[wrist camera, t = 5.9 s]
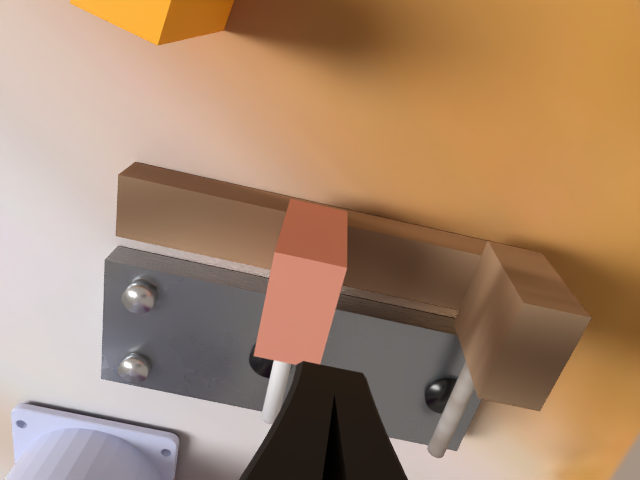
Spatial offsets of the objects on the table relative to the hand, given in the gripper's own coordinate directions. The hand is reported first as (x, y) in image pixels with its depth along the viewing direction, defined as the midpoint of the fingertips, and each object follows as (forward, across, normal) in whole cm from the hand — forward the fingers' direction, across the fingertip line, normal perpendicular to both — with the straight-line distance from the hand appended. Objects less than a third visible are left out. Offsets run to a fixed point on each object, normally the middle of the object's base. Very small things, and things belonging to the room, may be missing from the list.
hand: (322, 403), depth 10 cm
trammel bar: (+10, 0, +4) cm, 10 cm away
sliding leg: (+8, +1, +4) cm, 9 cm away
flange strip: (+10, 0, +6) cm, 12 cm away
